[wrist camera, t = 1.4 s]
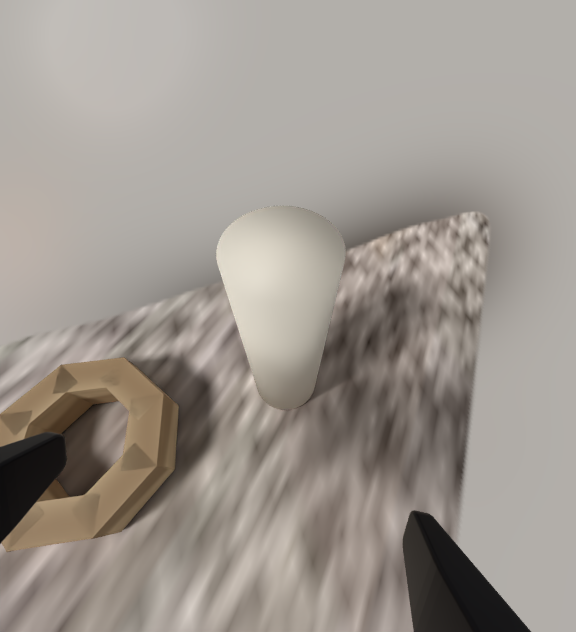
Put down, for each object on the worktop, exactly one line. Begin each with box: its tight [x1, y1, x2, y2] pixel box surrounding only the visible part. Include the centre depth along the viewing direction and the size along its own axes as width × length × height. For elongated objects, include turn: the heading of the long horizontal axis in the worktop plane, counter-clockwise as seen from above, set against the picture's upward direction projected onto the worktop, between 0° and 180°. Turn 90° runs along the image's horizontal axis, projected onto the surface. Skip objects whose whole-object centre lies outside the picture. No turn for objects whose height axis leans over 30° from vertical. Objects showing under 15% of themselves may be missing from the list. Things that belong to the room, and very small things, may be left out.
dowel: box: [216, 206, 346, 410], centre depth 16 cm, size 4×4×14 cm
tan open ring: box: [0, 357, 179, 552], centre depth 19 cm, size 10×10×3 cm
